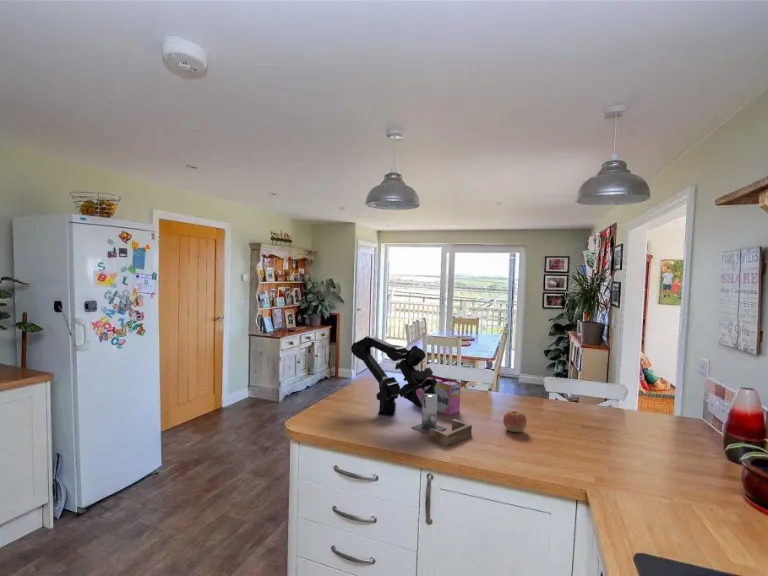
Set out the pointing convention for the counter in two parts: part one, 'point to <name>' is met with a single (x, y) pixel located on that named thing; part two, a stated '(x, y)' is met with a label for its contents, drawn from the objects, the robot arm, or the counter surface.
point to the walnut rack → (451, 433)
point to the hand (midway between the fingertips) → (428, 405)
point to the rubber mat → (418, 427)
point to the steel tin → (429, 411)
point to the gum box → (445, 395)
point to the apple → (514, 421)
